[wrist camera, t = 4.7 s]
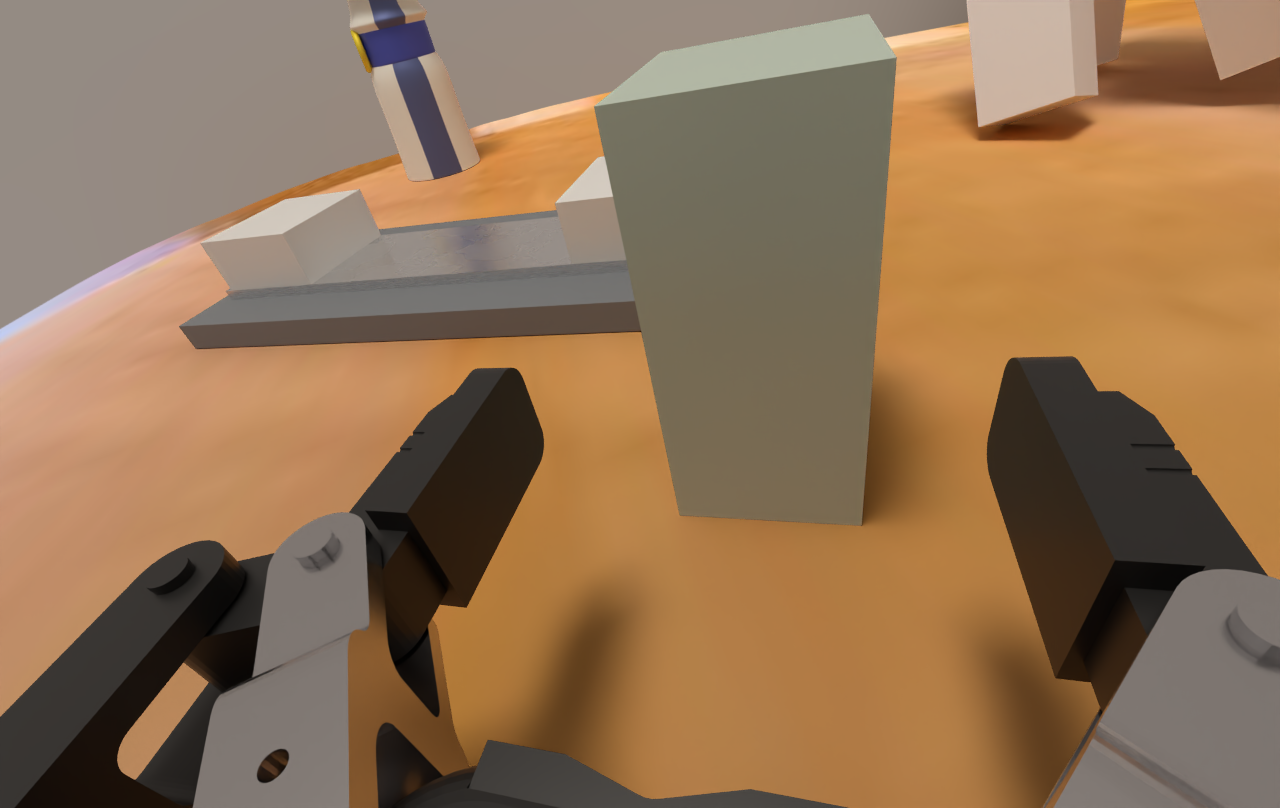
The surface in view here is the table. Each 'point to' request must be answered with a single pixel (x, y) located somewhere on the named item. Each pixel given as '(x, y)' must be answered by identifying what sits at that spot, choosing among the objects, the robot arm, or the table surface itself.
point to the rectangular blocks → (342, 225)
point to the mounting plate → (450, 260)
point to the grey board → (425, 309)
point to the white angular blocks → (1088, 48)
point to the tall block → (759, 260)
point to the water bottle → (412, 88)
